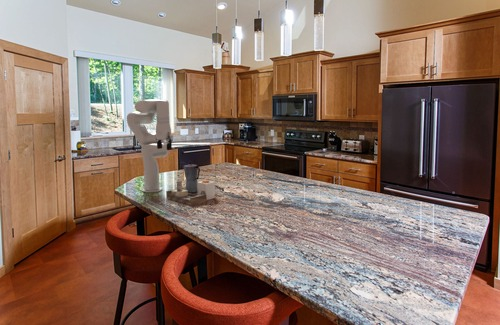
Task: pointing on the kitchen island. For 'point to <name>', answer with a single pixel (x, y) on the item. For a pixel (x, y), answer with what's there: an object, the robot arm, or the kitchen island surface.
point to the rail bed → (187, 198)
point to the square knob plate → (179, 190)
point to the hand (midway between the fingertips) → (164, 149)
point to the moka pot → (191, 177)
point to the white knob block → (206, 189)
